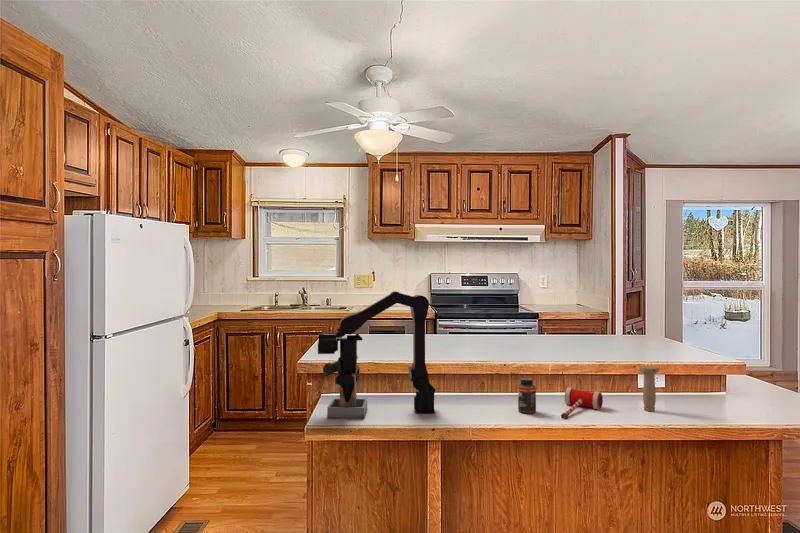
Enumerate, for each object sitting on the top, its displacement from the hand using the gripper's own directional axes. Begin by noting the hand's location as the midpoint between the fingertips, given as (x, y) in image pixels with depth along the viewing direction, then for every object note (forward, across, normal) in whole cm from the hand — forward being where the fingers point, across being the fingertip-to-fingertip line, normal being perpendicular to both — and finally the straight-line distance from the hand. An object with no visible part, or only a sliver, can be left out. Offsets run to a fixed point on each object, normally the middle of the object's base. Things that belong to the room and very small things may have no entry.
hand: (348, 400), depth 167 cm
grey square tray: (+4, 0, 0) cm, 4 cm away
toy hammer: (+5, -7, +80) cm, 80 cm away
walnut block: (+2, 0, 0) cm, 2 cm away
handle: (+5, -7, +104) cm, 104 cm away
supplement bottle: (+5, -4, +61) cm, 61 cm away
